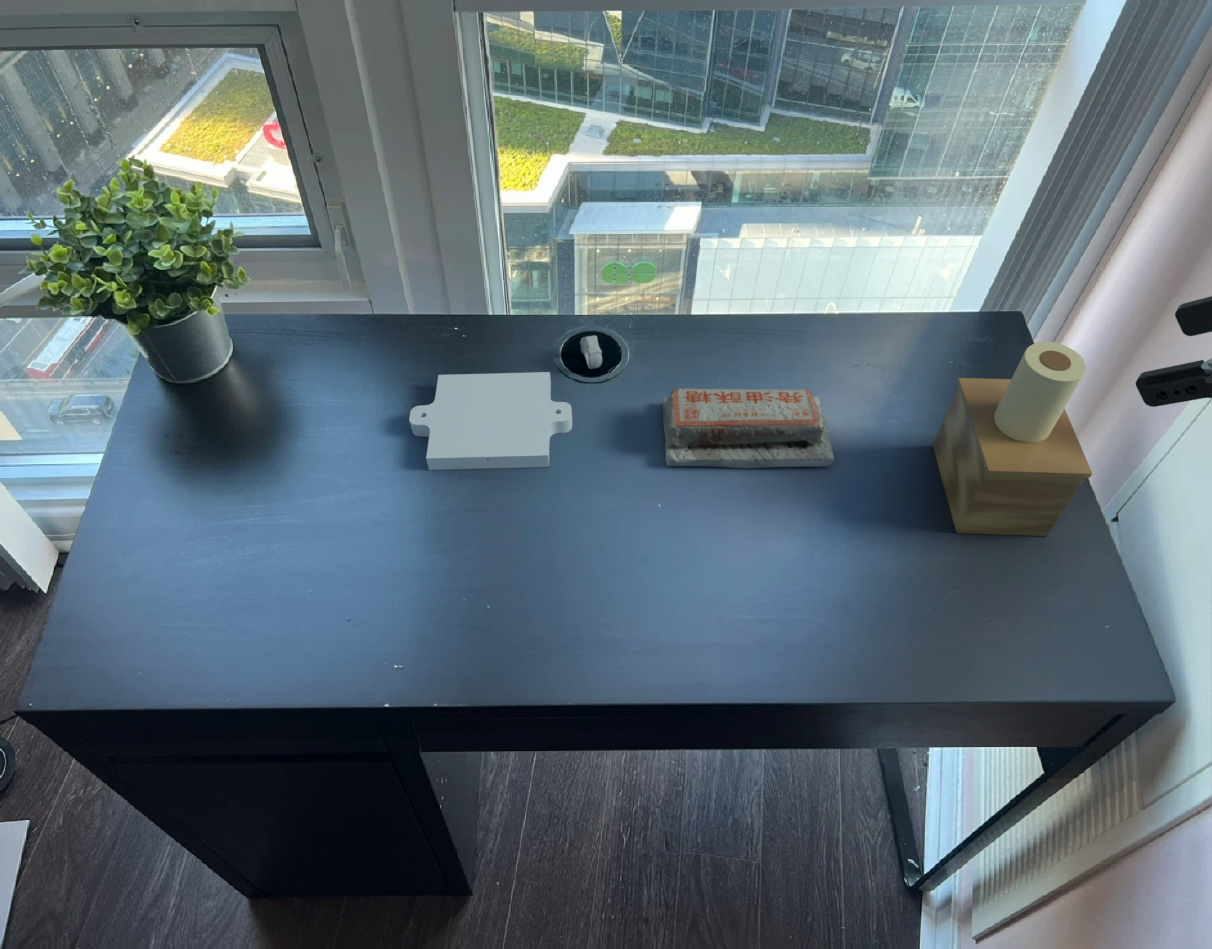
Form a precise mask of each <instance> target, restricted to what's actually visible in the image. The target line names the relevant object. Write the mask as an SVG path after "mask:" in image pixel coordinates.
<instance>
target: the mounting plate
mask: <svg viewBox="0 0 1212 949" xmlns="http://www.w3.org/2000/svg"><path fill="white" fill-rule="evenodd" d="M551 381H552V379H551V372H550V371H541V372H537V371H536V372H501V373H500V372H499V373H495V372H493V373H466V374H465V373H460V374H459V373H458V374H438V376H437V382H436V388H435V395H434V400H433V402H431V403H430V404H425V405H424V404H423V405H416V406H414V407H413V408H412V409H411V410H410V413H409V419H408V421H409V425H410V428H411V432H412V434H413V435H414V436H415V437H419V438H428V442H427V443H428V444H427V450H426V454H425V460H426V463H427V464H426V465H427V467H428V471H444V470H445V471H451V470H452V471H453V470H489V469H490V470H491V469H524V468H525V469H526V468H529V469H530V468H531V469H532V468H549V467H550V444H551V443H550V441H551V437H552V436H554V435H556V434H566V433H570V432H571V430H572V429H573V410H572V408H573V407H572V405H571V404H570V403H569V402H565V401H554V400H552V398H551V396H552V395H551V394H552V382H551Z"/></svg>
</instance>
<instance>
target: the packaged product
mask: <svg viewBox="0 0 1212 949" xmlns="http://www.w3.org/2000/svg"><path fill="white" fill-rule="evenodd" d="M820 400H821V399H820V396H819V395H818V396H814V395H813V393H812V392H811V391H810V390H809V389H793V388H791V389H785V388H784V389H783V388H782V389H781V388H767V389H766V388H764V389H763V388H747V389H746V388H683V387H682V388H681V387H680V388H674V389H672V390H671V391H670V394H669V396H663V397H662V419H663V420H662V421H663V431H664V440H665V462H666V465H667V467H711V468H712V467H713V468H733V469H734V468H735V469H764V468H765V469H766V468H796V467H797V468H802V467H803V468H805V467H806V468H807V467H809V468H811V467H812V468H813V467H816V468H817V467H831V466H832V464H833V462H834V461H835V455H834V451H833V447H832V444H831V439H830V435H829V432H828V429H827V424H826V420H825V415H824V411H823V408H822V403H821V401H820Z"/></svg>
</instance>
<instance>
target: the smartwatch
mask: <svg viewBox="0 0 1212 949" xmlns="http://www.w3.org/2000/svg"><path fill="white" fill-rule="evenodd" d="M579 345H580V351H581V353H582V354H583V355H584V358H585V361H586V364H587V367H588V369H589V370H594V369H598V368H600V367H601V365H602V364H603V356H602V354H603V350H602V349H601V347H600V344H599V341H598V336H597V335H588V336H583V337H581V339H580V341H579Z"/></svg>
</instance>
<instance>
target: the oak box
mask: <svg viewBox="0 0 1212 949" xmlns="http://www.w3.org/2000/svg"><path fill="white" fill-rule="evenodd" d="M1011 379H1012V378H979V377H978V378H977V377H974V378H973V377H958V378H957V381H956V384H957V387H956V390H955V392H954V394H953V397H952V399H951V402H950V404H949V406H948V408H947V411H946V413H945V416H944V418H943V419H942V420H943V421H942V423H941V425H940V427H939V429H938V432H937V434H936V437H935V438H934V440H933V444H932V448H933V452H934V456H935V460H936V464H937V466H938V471H939V474H940V477H941V481H942V485H943V488H944V493H945V496H946V500H947V504H948V507H949V510H950V514H951V518H952V522H953V525H954V529H955V532H956V534H970V535H973V534H974V535H999V536H1001V535H1002V536H1029V537H1031V536H1033V537H1048V535H1049V534H1050V533H1051V531H1052V529H1053V528H1054V526H1055V525H1056V523H1057V522H1058V520H1059V519H1060V517H1061V516H1062V514H1063V513H1064V511H1065V510H1066V508H1067V507H1068V505H1069V504H1070V502H1071V501H1072V499H1073V498H1074V497H1075V495H1076V493H1077V492H1078V490H1079V489H1080V487H1081V486H1082V484H1083V483H1084V481H1085V480H1086V478H1087V479H1090V478H1091V477H1092V476H1093V470H1091V467H1090V465H1089V461H1088V460H1087V458H1086V455H1085V453H1084V451H1083V448H1082V446H1081V443H1080V440H1079V439H1078V437H1077V434H1076V431H1075V429H1074V426H1073V425H1072V423H1071V420H1070V418H1069V415H1068V413H1067V411H1066V407H1065V408H1064V410H1063V412H1062V414H1061V415H1060V417H1059V419H1058V421H1057V422H1056V424H1055V426H1054V427H1053V429H1052V431H1051V433H1050V434H1049V436H1048V437H1047V438H1046V439H1044V440H1042V441H1040V442H1035V443H1026V442H1021V441H1017V440H1014V439H1012V438H1010V437H1008V436H1007V435H1005V434H1004V433H1003V432H1001V431H1000V430H999V428H998V427H997V425H996V424H995V421H994V414H995V412H996V410H997V408H998V406H999V404H1000V401H1001V399H1002V397H1003V395H1004V393H1005V391H1006V389H1007V387H1008V385H1009V383H1010V381H1011Z"/></svg>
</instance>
